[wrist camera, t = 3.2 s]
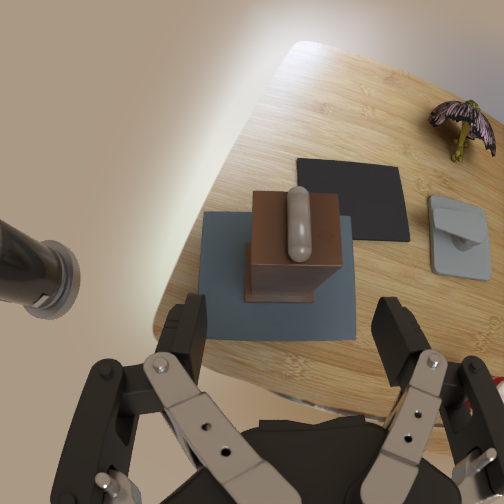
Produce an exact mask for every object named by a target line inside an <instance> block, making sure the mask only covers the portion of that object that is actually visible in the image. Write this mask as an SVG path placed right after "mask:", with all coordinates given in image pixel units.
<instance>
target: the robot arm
mask: <svg viewBox="0 0 504 504" xmlns="http://www.w3.org/2000/svg"><path fill="white" fill-rule="evenodd" d="M66 277H67V273H66V266H65V262H64V260H63V258H62V256H61V255H60V253H59V252H57V251H56V250H54V249H52V248H51V247H48V246H46V245H44V244H42V243H40V242H38V241H37V240H35V239H33V238H31V237H30V236H28V235H26V234H24V233H22V232H21V231H19V230H17V229H16V228H14V227H12V226H10V225H9V224H7V223H5V222H4V221H2V220H0V300H1V301H5V302H13V303H17V304H21V305H25V306H29V307H32V308H35V309H39V310H45V309H48V308H50V307H52V306H53V305H55V304H56V303H57V301H58V300H59V299H60V297H61V295H62V293H63V291H64V288H65V284H66ZM207 326H208V321H207V309H206V298H205V294H193V293H188V295H187V298H186V301H185V304H176V305H175V306H174V307H173V308H172V309H171V310H170V311H169V313H168V316H167V319H166V321H165V324H164V328H163V330H162V333H161V336H160V339H159V342H158V345H157V348H156V351H155V353H154V354H152V355H150V356H149V357H148V358H147V359H146V360H145V361H144V363H142V364H139V365H133V366H125V367H122V365H121V364H120V362H118V361H117V360H114V359H103V360H100V361H98V362H97V363H95V364H94V365H93V366H92V368H91V370H90V373H89V375H88V378H87V380H86V383H85V386H84V388H83V391H82V394H81V397H80V399H79V402H78V405H77V408H76V411H75V413H74V416H73V419H72V422H71V425H70V428H69V431H68V435H67V438H66V441H65V444H64V448H63V451H62V454H61V458H60V461H59V464H58V468H57V472H56V475H55V479H54V483H53V487H52V491H51V496H50V502H51V504H142V502H141V493H140V491H139V489H138V487H137V486H136V485H135V484H134V483H133V482H132V481H131V480H129V478H128V472H129V467H130V461H131V455H132V450H133V445H134V440H135V435H136V430H137V424H138V420H139V415H140V414H148V413H155V412H160V413H161V414H162V416H163V418H164V419H165V421H166V423H167V424H168V426H169V427H170V429H171V430H172V432H173V434H174V435H175V437H176V439H177V440H178V442H179V443H180V445H181V447H182V449H183V450H184V452H185V454H186V455H187V457H188V459H189V460H190V461H191V463H192V464H193V466H194V467H195V469H196V470H197V472H196V473H195V474H193V475H192V476H191V477H190V478H189V479H188V480H187V481H186V482H185V483H183V484H182V485H181V486H180V487H179V488H177V489H176V490H175V491H174V492H173V493H172V494H171V495H169V496H168V497H167V498H166V499H164V500H163V501H162V502H161V503H160V504H490V503H492V502H494V501H496V500H498V499H499V498H501V497H503V496H504V403H503V400H502V398H501V396H500V394H499V392H498V389H497V387H496V385H495V383H494V381H493V379H492V377H491V375H490V373H489V371H488V369H487V367H486V365H485V363H484V362H483V361H482V360H481V359H480V358H478V357H476V356H467V357H465V358H464V360H463V361H462V363H454V362H448V361H447V360H446V358H445V356H444V355H443V354H442V353H440V352H439V351H436V350H433V349H431V347H430V345H429V343H428V341H427V339H426V337H425V335H424V333H423V332H422V330H421V329H420V326H419V324H418V323H417V320H416V319H415V317H414V315H413V313H411V312H410V311H409V310H408V309H407V308H406V307H402V306H401V304H400V302H399V300H398V299H397V297H381V298H380V299H379V301H378V305H377V308H376V311H375V314H374V317H373V320H372V324H371V332H372V336H373V338H374V341H375V344H376V346H377V349H378V352H379V355H380V357H381V360H382V363H383V366H384V369H385V371H386V374H387V377H388V380H389V383H390V386H391V387H395V386H400V388H401V390H400V392H399V394H398V396H397V398H396V400H395V402H394V404H393V406H392V409H391V411H390V413H389V415H388V417H387V419H386V421H385V423H384V424H383V426H380V425H377V424H374V423H370V422H365V417H364V415H357V416H347V417H339V418H336V419H333V420H329V421H326V422H323V423H320V424H315V425H312V424H305V423H300V422H295V421H289V420H259V427H256V428H252V429H249V430H246V431H244V432H242V433H239V432H238V431H237V429H236V428H235V427H234V426H233V425H232V423H231V422H230V421H229V420H228V419H227V417H226V416H225V415H224V414H223V412H222V411H221V410H220V409H219V407H218V406H217V405H216V403H215V402H214V401H213V400H212V398H211V397H210V396H209V395H208V394H207V393H206V392H201V391H200V390H199V389H198V387H197V385H198V379H199V373H200V368H201V362H202V357H203V351H204V346H205V341H206V335H207ZM467 399H468V400H469V403H470V405H471V408H472V412H473V413H472V416H471V413H470V411H469V408H468V405H467V403H466V401H467ZM438 411H440V415H441V418H442V421H443V424H444V427H445V431H446V434H447V438H448V441H449V445H450V448H451V452H452V456H453V460H454V464H455V467H454V469H453V471H452V478H451V479H450V478H449V477H448V476H446V475H445V474H444V473H442V472H441V471H440V470H438V469H437V468H436V467H434V466H433V465H431V464H430V463H429V462H428V461H426V460H425V459H424V458H422V456H423V453H424V451H425V448H426V446H427V443H428V440H429V438H430V435H431V432H432V429H433V426H434V423H435V420H436V417H437V414H438Z"/></svg>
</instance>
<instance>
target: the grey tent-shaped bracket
mask: <svg viewBox="0 0 504 504" xmlns="http://www.w3.org/2000/svg"><path fill="white" fill-rule="evenodd" d="M340 225H341V239H342V256H343V267H342V268H340V269H339V270H338V271H337V272H336V273H335V274H333V275H332V276H331V277H330V278H328V279H327V280H326V281H325V282H324V283H322V284H321V285H320V286H319V287H318V288H316V289H315V290H314V302H313V303H311V304H293V303H245V302H244V293H245V260H246V243H247V242H248V243H252V212H204V217H203V229H202V242H201V255H200V270H199V286H198V294H205V298H206V309H207V321H208V326H207V335H206V339H216V340H240V341H336V340H355V339H356V299H355V273H354V256H353V241H352V228H351V217H350V216H340Z"/></svg>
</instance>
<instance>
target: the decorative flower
mask: <svg viewBox="0 0 504 504" xmlns="http://www.w3.org/2000/svg"><path fill="white" fill-rule="evenodd" d="M430 115H431V117H430V118H429V120H430V122H429V123H430V124H431V125H432V126H433V127H438V126H440V125H441V124H443V123H444V122H445V121H446V120H448V119H449V118H450V119H452V120H453V121H454V120H456V123H457V122H459V121H462V132H461V135H460V138H459V140H458V139H457V138H456V139H454V140H453V141H454V143H455V144H458V147H457V152H456V156H457V157H456V156H452V160H453V161H456V160H458V161H460V162H461V161H462V160H463V158H462V156H461V155H463V154H464V153H463V146H464V147H465V148H468V147H469V144H468V142H465V139H466V138H468V139H471V140H474V139H475V138H479V139H480V140H481V139H482V140H483V141H484V143H485V148H486V150H487V149H490V150H491V154H492V157H493V156H495V152H496V145H495V138H494V134H493V130H492V128H491V125H490V124H489V122H488V120H487V119H486V117H485V116H484V115H483V114H482V113H481V112H480V108H479V107H478V105H477V104H476V103H475V102H474V101H473V100H469V101H466V102H465V103H461V102H459V101H447V102H444V103H442V104H440V105H438V106H437V107H436V108H435V109H434V110H433V111H432V112H431V114H430ZM459 155H460V156H459Z"/></svg>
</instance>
